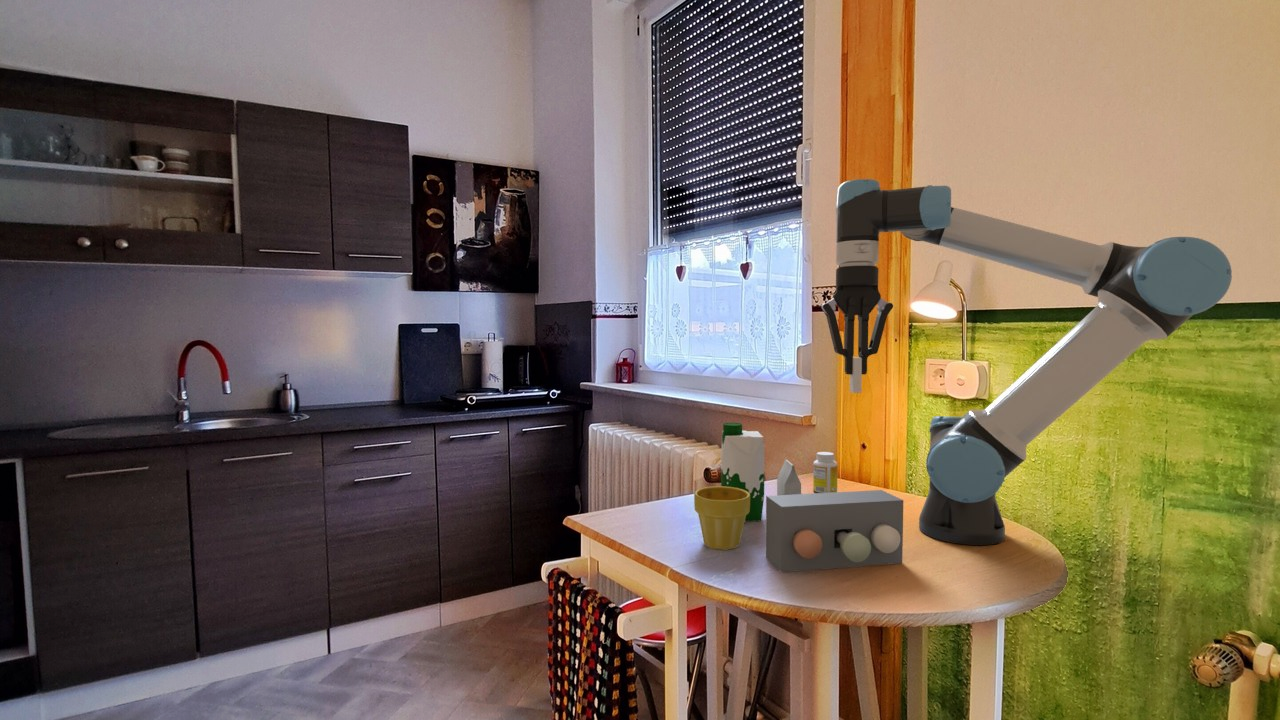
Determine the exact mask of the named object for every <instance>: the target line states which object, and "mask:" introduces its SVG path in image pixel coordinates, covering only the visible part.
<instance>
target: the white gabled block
mask: <svg viewBox="0 0 1280 720" xmlns="http://www.w3.org/2000/svg"><path fill="white" fill-rule="evenodd" d="M776 478H777V479H776V482H777V483H776V492H777V493H776V495H794V494H802V482H801V481H800V478H799V476H798V474H797V471H796V469H795V465H794V464H793V463H791V462H790V461H789V460H788V459H784V462H783V464H782V467H781V469H780V471H779V473H778V475H777V477H776Z"/></svg>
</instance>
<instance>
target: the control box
mask: <svg viewBox="0 0 1280 720" xmlns="http://www.w3.org/2000/svg"><path fill="white" fill-rule="evenodd" d="M765 499H766V501H765V502H766V503H765V508H766V509H765V558H766V559H767V560H768V561H769V562H770V563H771V564H772V565H773V566H774V567H775V568H776V569H777V570H778V571H779V572H780V573H786V572H790V573H791V572H799V571H814V570H828V569H842V568H857V567H858V568H859V567H868V566H869V567H870V566H882V565H883V566H884V565H886V566H887V565H896V564H903V550H904V549H903V546H904V544H903V542H904V541H903V540H904V538H903V537H904V531H903V530H904V499H902V498H900V497H897V496H895V495H893V494H891V493H890V492H889V493H888V492H887V491H885V490H882V489H878V490H877V489H875V490H857V491H856V490H855V491H837V492H833V493H801V494H794V495H777V494H776V495H775V494H774V495H766V497H765ZM880 524H887V525H889V526H891V527H893V528H894V529H896V530H897V531H898V532H899V534H900V544H899V546H898V548H897V549H896V550H895V551H893V552H891V553H884V552H882V551H880V550H878V549H877V548H875V547H874V546H873V544H872V543H871V533H872V531H873V527H876V526H878V525H880ZM802 529H810V530H812V531H813V532H815V533H816V534H818V535H819V536H820V538H821V540H822V549H821V551H820V553H819V554H818V555H817V556H816V557H814V558H811V559H807V558H804V557H802V556H801V555H800V554H798V553H797V552H796V551H795V550H794V548H793V538H794V536H795V532H798V531H800V530H802ZM839 531H844V532H846V533H847V534H848V533H850V532H858V533H860V534H861V535H863V536H864V537H866V538H867V539H868V540H869V542H870V544H871V551H870V554H869V556H868V557H867V558H866V559H865V560H864V561H861V562H853V561H851V560H850V559H848V558H847V557H846V556H844V555H843V553H842V552H841V548H840V544H839V543H837V542H836V540H835V536H836V534H837V532H839Z"/></svg>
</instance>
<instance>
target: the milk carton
mask: <svg viewBox="0 0 1280 720" xmlns="http://www.w3.org/2000/svg"><path fill="white" fill-rule="evenodd" d="M722 425H723V426H722V427H723V429H722V432H721V449H720V450H721V456H720V462H721V463H720V469H721V471H720V472H721V473H720V475H721V476H720V486H726V487H734V488H739V489H743V490H745V491H747V492H749V494H750V511H749V513H748V514H747V515H746V518H745V522H762V517H763V508H764V500H765V443H764V438H765V437H764V436H763V435H762V434H761V433H760V432H759V430H749V431H748V430H743V423H740V422H724V423H723V424H722Z"/></svg>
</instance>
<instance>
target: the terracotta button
mask: <svg viewBox="0 0 1280 720" xmlns="http://www.w3.org/2000/svg"><path fill="white" fill-rule="evenodd" d="M793 548H794V550H795V551H796V552H797V553H798V554H800V555H801V556H802V557H804V558H807V559H811V558H814V557H816V556H817V555H818V554H819V553H820V551H821V549H822V540H821V538H820V536H819V535H818V534H816V533H815V532H813V531H812V530H810V529H802V530H800V531H798V532H795V536H794V538H793Z"/></svg>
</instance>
